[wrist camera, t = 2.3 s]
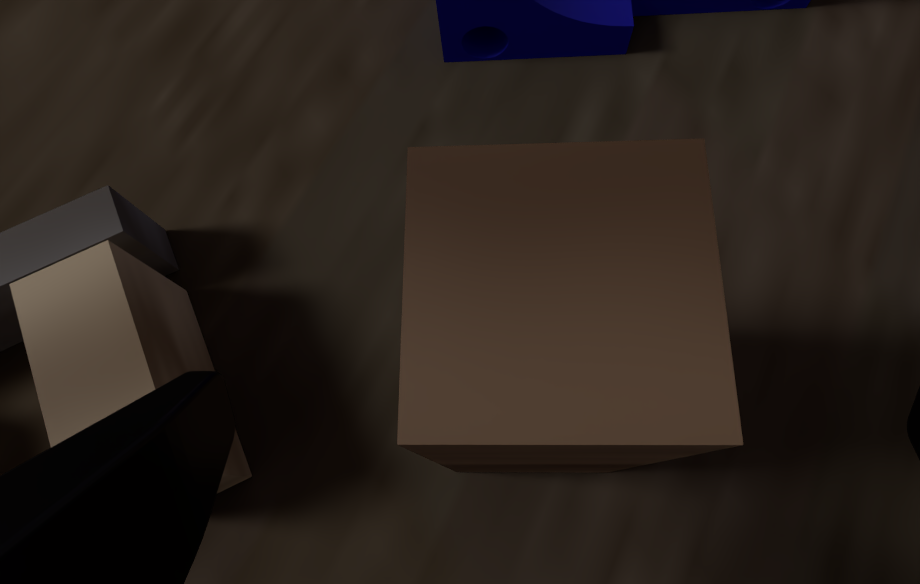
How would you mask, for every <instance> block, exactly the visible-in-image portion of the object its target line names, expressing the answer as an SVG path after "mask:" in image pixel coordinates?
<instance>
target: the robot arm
mask: <svg viewBox="0 0 920 584" xmlns="http://www.w3.org/2000/svg"><path fill="white" fill-rule="evenodd" d="M907 432H908V436H909V439H910V441H911V443H912V445H913V447H914V449H915V451H916V453H917V456H918V458H919V460H920V387H919V390H918V392H917V395H916V398H915V400H914V403H913V406H912V409H911V411H910V414H909V417H908V421H907ZM234 435H235V419H234V415H233V411H232V407H231V404H230V400H229V396H228V392H227V388H226V385H225V381H224V379H223V377H222V375H221V374H220V373H218V372H217V371H189V372H186V373H184V374H182V375H180V376H178V377H177V378H175V379H173V380H171V381H169V382H168V383H166V384H164V385H162V386H161V387H159V388H157V389H155V390H153V391H152V392H150V393H148V394H146V395H144V396H143V397H141V398H139V399H137V400H135V401H134V402H132V403H130V404H128V405H126V406H125V407H123V408H121V409H119V410H117V411H116V412H114V413H112V414H110V415H109V416H107V417H105V418H103V419H101V420H100V421H98V422H96V423H94V424H92V425H91V426H89V427H87V428H85V429H83V430H82V431H80V432H78V433H76V434H74V435H73V436H71V437H69V438H67V439H65V440H64V441H62V442H60V443H58V444H57V445H55V446H53V447H51V448H49V449H48V450H46V451H44V452H42V453H40V454H39V455H37V456H35V457H33V458H31V459H30V460H28V461H26V462H24V463H22V464H21V465H19V466H17V467H15V468H13V469H12V470H10V471H8V472H6V473H5V474H3V475H1V476H0V584H184V582H185V580H186V577H187V575H188V573H189V570H190V568H191V566H192V563H193V561H194V559H195V556H196V554H197V551H198V549H199V546H200V544H201V542H202V539H203V536H204V533H205V530H206V527H207V524H208V521H209V518H210V514H211V511H212V508H213V505H214V501H215V498H216V495H217V492H218V488H219V485H220V482H221V479H222V475H223V472H224V469H225V465H226V462H227V459H228V456H229V452H230V449H231V446H232V443H233V439H234Z"/></svg>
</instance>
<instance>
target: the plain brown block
mask: <svg viewBox="0 0 920 584" xmlns="http://www.w3.org/2000/svg"><path fill="white" fill-rule="evenodd" d="M397 445H399V446H401V447H403V448H406V449H408V450H410V451H412V452H414V453H416V454H419V455H421V456H423V457H425V458H427V459H429V460H432V461H434V462H436V463H438V464H440V465H442V466H445V467H447V468H449V469H451V470H453V471H455V472H560V473H608V472H613V471H618V470H623V469H628V468H633V467H638V466H642V465H647V464H652V463H657V462H662V461H667V460H672V459H677V458H682V457H687V456H692V455H697V454H702V453H707V452H712V451H717V450H722V449H727V448H732V447H737V446H742V445H743V438H742V430H741V422H740V414H739V407H738V399H737V391H736V383H735V375H734V368H733V360H732V352H731V344H730V336H729V329H728V321H727V313H726V305H725V297H724V290H723V282H722V274H721V266H720V258H719V251H718V243H717V235H716V227H715V219H714V212H713V204H712V196H711V188H710V180H709V173H708V165H707V157H706V149H705V141H704V139H674V140H640V141H606V142H572V143H538V144H504V145H470V146H436V147H408V157H407V185H406V214H405V242H404V270H403V298H402V326H401V354H400V382H399V410H398V439H397Z"/></svg>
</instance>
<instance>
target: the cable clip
mask: <svg viewBox="0 0 920 584" xmlns="http://www.w3.org/2000/svg"><path fill="white" fill-rule="evenodd" d="M810 1H811V0H436V4H437V12H438V19H439V27H440V34H441V42H442V49H443V57H444V62H462V61H485V60H507V59H529V58H551V57H573V56H595V55H617V54H626V52H627V49H628V45H629V41H630V38H631V34H632V31H633V27H634V23H633V16H649V15H670V14H690V13H711V12H731V11H752V10H773V9H793V8H806V7H807V6H808V4H809V2H810Z"/></svg>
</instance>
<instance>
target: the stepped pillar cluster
mask: <svg viewBox="0 0 920 584" xmlns="http://www.w3.org/2000/svg"><path fill="white" fill-rule="evenodd" d="M178 270H179V268H178V265H177V262H176V259H175V257H174V254H173V251H172V248H171V245H170V242H169V240H168V237H167V234H166V231H165V229H163V228H162V227H161V226H160V225H158V224H157V223H156V222H154V221H153V220H152V219H151V218H149V217H148V216H147V215H145V214H144V213H143V212H142V211H140V210H139V209H138V208H137V207H135V206H134V205H133V204H131V203H130V202H129V201H128V200H126V199H125V198H124V197H122V196H121V195H120V194H119V193H117V192H116V191H115V190H113V189H112V188H111V187H110V186H108V185H107V186H105V187H103V188H101V189H98V190H96V191H94V192H92V193H89V194H87V195H85V196H83V197H80V198H78V199H76V200H73V201H71V202H69V203H67V204H64V205H62V206H60V207H58V208H55V209H53V210H51V211H49V212H46V213H44V214H42V215H40V216H37V217H35V218H33V219H30V220H28V221H26V222H24V223H21V224H19V225H17V226H15V227H12V228H10V229H8V230H6V231H3V232H1V233H0V352H1V351H3V350H5V349H7V348H10V347H12V346H14V345H16V344H18V343H20V342H23V341H24V343H25V347H26V351H27V355H28V359H29V363H30V367H31V371H32V375H33V379H34V383H35V387H36V391H37V395H38V398H39V402H40V406H41V410H42V414H43V418H44V422H45V426H46V430H47V434H48V438H49V442H50V446H51V447H53V446H55V445H57V444H58V443H60V442H62V441H64V440H65V439H67V438H69V437H71V436H73V435H74V434H76V433H78V432H80V431H82V430H83V429H85V428H87V427H89V426H91V425H92V424H94V423H96V422H98V421H100V420H101V419H103V418H105V417H107V416H109V415H110V414H112V413H114V412H116V411H117V410H119V409H121V408H123V407H125V406H126V405H128V404H130V403H132V402H134V401H135V400H137V399H139V398H141V397H143V396H144V395H146V394H148V393H150V392H152V391H153V390H155V389H157V388H159V387H161V386H162V385H164V384H166V383H168V382H169V381H171V380H173V379H175V378H177V377H178V376H180V375H182V374H184V373H186V372H189V371H215V370H214V367H213V364H212V361H211V358H210V355H209V353H208V350H207V347H206V344H205V341H204V339H203V336H202V333H201V330H200V327H199V324H198V322H197V319H196V316H195V313H194V310H193V307H192V305H191V302H190V299H189V296H188V293H187V291H186V290H185V289H183V288H182V287H180V286H179V285H177V284H175V283H174V282H172V281H171V280H169V279H168V278H166V277H165V276H167V275H169V274H171V273H174V272H176V271H178ZM250 477H252V474H251V471H250V468H249V466H248V463H247V460H246V457H245V454H244V452H243V449H242V446H241V443H240V440H239V437H238V435H237V432H236V429H235V435H234V439H233V443H232V446H231V449H230V452H229V456H228V459H227V462H226V465H225V469H224V472H223V475H222V479H221V482H220V485H219V488H218V492H217V493H219V492H221V491H223V490H225V489H227V488H230V487H232V486H234V485H236V484H238V483H240V482H242V481H244V480H246V479H248V478H250Z"/></svg>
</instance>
